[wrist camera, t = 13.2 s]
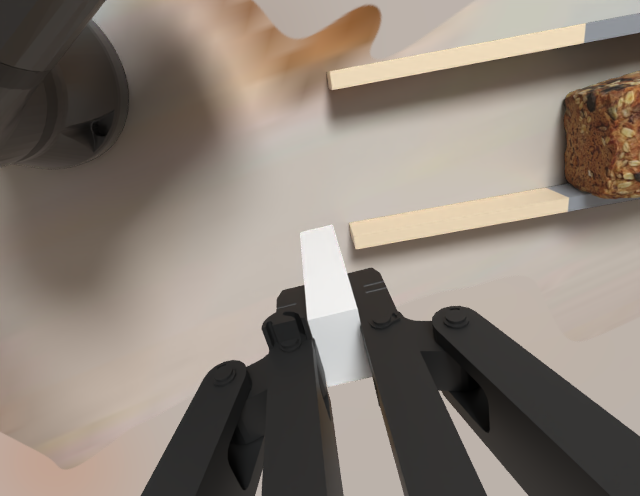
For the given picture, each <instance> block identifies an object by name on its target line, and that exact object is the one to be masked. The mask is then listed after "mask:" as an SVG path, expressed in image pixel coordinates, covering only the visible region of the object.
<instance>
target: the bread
mask: <svg viewBox="0 0 640 496" xmlns="http://www.w3.org/2000/svg"><path fill="white" fill-rule="evenodd" d="M564 106H565V108H566V112H565V115H564V120H563V121H564V128H565V130H566V133H567V135H566V139H567V148H566V151H565V154H564V157H565V175H566V180H567V181H568V182H569V183H570V184H572V185H573V186H574V187H575V188H577V189H579V190H580V191H582V192H584V191H586V192H589V193H591V194H592V195H593V196H596V197H599V198H603V199H618V198H638V197H640V71H637V72H633V73H630V74H626V75H623V76H621V77H619V78H614V79H609V80H606V81H603V82H600V83H597V84H595V85H590V86H588V87H585V88H583V89H578V90H575V91H573V92H570V93H569V94H568V95H567V96H566V99H565V102H564Z"/></svg>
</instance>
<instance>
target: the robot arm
mask: <svg viewBox="0 0 640 496" xmlns="http://www.w3.org/2000/svg"><path fill="white" fill-rule="evenodd" d="M105 1H106V0H0V167H3V166H7V165H9V164H15V165H21V166H28V167H34V168H41V169H61V168H69V167H73V166H76V165H79V164H82V163H85V162H87V161H90V160H92V159H94V158H96V157H98V156H100V155H101V154H103V153H104V152H105V151H107V150H108V149H109V148H110V147H111V146H112V145H113V144H114V143H115V141H116V140H117V138H118V137H119V135H120V133H121V131H122V129H123V127H124V124H125V121H126V118H127V113H128V102H129V99H128V86H127V81H126V77H125V73H124V70H123V67H122V64H121V61H120V59H119V57H118V55H117V53H116V51H115V49H114V47H113V46H112V44H111V43H110V41H109V40H108V38H107V37H106V35H105V34H104V33H103V31H102V30H101V29H100V28H99V27H98V26H97V24H96V23H95V22H94V21H93V20H92V17H93V16H94V15H95V14H96V12H97V11H98V10H99V8H100V7H101V6H102V4H103V3H104V2H105ZM300 239H301V251H302V263H303V274H304V285H303V286H298V287H294V288H290V289H286V290H282V292H281V293H280V295H279V297H278V298H277V311H276V313H274V314H272V315H271V316H269V317H268V318H267V319H266V320H265V321H264V322H263V325H262V331H263V334H264V336H265V339H266V342H267V344H268V347H269V354H268V355H266V356H265V357H264V358H263V359H261V360H259V361H258V362H256V363H254V364H252V365H250V366H247V367H246V366H245V364H244V363H242V362H241V361H236V360H231V361H226V362H223V363H221V364H219V365H217V366H215V367H214V368H213V369H212V370H210V371H209V372H208V374H207V375H206V376H205V378H204V379H203V381H202V383H201V385H200V387H199V388H198V390H197V392H196V394H195V396H194V398H193V400H192V402H191V403H190V405H189V407H188V409H187V411H186V413H185V414H184V416H183V418H182V420H181V422H180V424H179V426H178V427H177V429H176V431H175V433H174V435H173V437H172V439H171V441H170V442H169V444H168V446H167V448H166V450H165V452H164V454H163V455H162V457H161V459H160V461H159V463H158V465H157V467H156V469H155V470H154V472H153V474H152V476H151V478H150V480H149V481H148V483H147V485H146V487H145V489H144V491H143V493H142V494H141V496H255V494H256V490H257V487H258V483H259V479H260V476H261V472H262V469H263V479H262V496H343V488H342V481H341V475H340V467H339V459H338V453H337V445H336V437H335V430H334V423H333V416H332V408H331V401H330V397H329V394H328V391H327V387H326V383H327V386H328V387H331V386H335V385H340V384H343V383H348V382H352V381H356V380H361V379H364V378H369V377H373V381H374V385H375V390H376V394H377V398H378V402H379V406H380V408H381V411H382V415H383V419H384V422H385V426H386V430H387V433H388V437H389V441H390V445H391V448H392V452H393V456H394V459H395V463H396V466H397V470H398V474H399V478H400V481H401V485H402V488H403V492H404V496H487V495H486V493H485V490H484V488H483V486H482V484H481V482H480V479H479V477H478V475H477V473H476V471H475V469H474V467H473V465H472V462H471V460H470V458H469V456H468V454H467V452H466V449H465V447H464V445H463V443H462V441H461V439H460V436H459V434H458V432H457V430H456V428H455V426H454V424H453V421H452V419H451V417H450V415H449V413H448V411H447V409H446V406H445V404H444V402H443V400H442V398H441V396H440V394H439V391H438V390H441V391H442V393H443V395H444V396H445V397H446V399H447V400H448V401H449V402H450V403H451V404H452V406H453V407H454V408H455V409H456V410H457V412H458V413H459V414H460V415H461V416H462V417H463V419H464V420H465V421H466V422H467V423H468V425H469V426H470V427H471V428H472V429H473V430H474V432H475V433H476V434H477V435H478V436H479V438H480V439H481V440H482V441H483V442H484V444H485V445H486V446H487V447H488V448H489V449H490V451H491V452H492V453H493V454H494V455H495V457H496V458H497V459H498V460H499V461H500V462H501V464H502V465H503V466H504V467H505V468H506V470H507V471H508V472H509V473H510V474H511V475H512V476H513V478H514V479H515V480H516V481H517V482H518V484H519V485H520V486H521V487H522V488H523V490H524V491H525V492H526V493H527V494H528V495H529V496H640V436H638V435H637V434H636V433H635V432H633V431H632V430H631V429H629V428H628V427H627V426H625V425H624V424H622V423H621V422H620V421H619V420H617V419H616V418H615V417H613V416H612V415H611V414H609V413H608V412H607V411H606V410H604V409H603V408H602V407H600V406H599V405H598V404H596V403H595V402H594V401H592V400H591V399H590V398H588V397H587V396H586V395H584V394H583V393H582V392H581V391H579V390H578V389H577V388H575V387H574V386H572V385H571V384H570V383H569V382H568V381H566V380H565V379H564V378H562V377H561V376H560V375H558V374H557V373H556V372H554V371H553V370H552V369H550V368H549V367H548V366H546V365H545V364H544V363H542V362H541V361H540V360H538V359H537V358H536V357H535V356H533V355H532V354H531V353H529V352H528V351H527V350H525V349H524V348H523V347H522V346H520V345H519V344H518V343H516V342H515V341H514V340H512V339H511V338H510V337H508V336H507V335H506V334H504V333H503V332H502V331H500V330H499V329H498V328H497V327H495V326H494V325H493V324H491V323H490V322H489V321H487V320H486V319H485V318H483V317H482V316H481V315H479V314H478V313H477V312H475V311H474V310H472V309H470V308H466V307H461V306H450V307H446V308H443V309H441V310H439V311H438V312H436V313H435V315H434V316H433V317H432V321H413V320H410V319H407V318H405V317H403V315H402V314H401V313H400V312H398V311H397V309H396V307H395V305H394V303H393V301H392V298H391V296H390V294H389V292H388V290H387V288H386V285H385V283H384V281H383V279H382V276H381V274H380V273H379V272H378V271H376V270H375V269H373V268H368V269H364V270H360V271H356V272H352V273H348V274H347V271H346V268H345V265H344V261H343V258H342V255H341V251H340V248H339V244H338V241H337V238H336V234H335V231H334V227H333V224H332V225H328V226H324V227H320V228H316V229H312V230H308V231H304V232H300Z"/></svg>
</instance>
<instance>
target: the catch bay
mask: <svg viewBox="0 0 640 496" xmlns="http://www.w3.org/2000/svg"><path fill="white" fill-rule="evenodd" d="M635 33H640V13H638V14H632V15H627V16H622V17H616V18H611V19H606V20H600V21H595V22H590V23H584V24H579V25H574V26H568V27H563V28H558V29H552V30H547V31H542V32H537V33H531V34H526V35H521V36H515V37H510V38H505V39H499V40H494V41H489V42H483V43H478V44H473V45H467V46H462V47H457V48H451V49H446V50H441V51H435V52H430V53H425V54H420V55H414V56H409V57H404V58H398V59H393V60H388V61H382V62H377V63H372V64H366V65H361V66H356V67H350V68H345V69H340V70H334V71H329V72H326V73H327V79H328V86H329V89H331V90H335V89H341V88H346V87H351V86H357V85H362V84H367V83H373V82H378V81H383V80H389V79H394V78H399V77H405V76H410V75H415V74H421V73H426V72H431V71H437V70H442V69H448V68H453V67H458V66H464V65H469V64H474V63H480V62H485V61H490V60H496V59H501V58H506V57H512V56H517V55H522V54H528V53H533V52H538V51H544V50H549V49H554V48H560V47H565V46H571V45H576V44H581V43H587V42H592V41H597V40H603V39H608V38H613V37H619V36H624V35H629V34H635ZM636 199H640V197H638V198H618V199H603V198H599V197H596V196H593V195H592V194H591V193H589V192H586V191H584V192H582V191H580V190H579V189H577V188H575V187H574V186H573V185H572V184H570V183H568V184H563V185H557V186H551V187H546V188H540V189H535V190H529V191H524V192H518V193H512V194H507V195H501V196H496V197H490V198H485V199H479V200H474V201H468V202H462V203H457V204H451V205H446V206H440V207H435V208H429V209H424V210H418V211H412V212H407V213H401V214H396V215H390V216H385V217H379V218H373V219H368V220H362V221H357V222H351V223H349V226H350V233H351V237H352V240H353V243H354V246H355V249H361V248H367V247H373V246H378V245H384V244H389V243H395V242H401V241H406V240H412V239H417V238H423V237H429V236H434V235H440V234H445V233H451V232H457V231H462V230H468V229H473V228H479V227H485V226H490V225H496V224H501V223H507V222H513V221H518V220H524V219H529V218H535V217H541V216H546V215H552V214H558V213H563V212H569V211H574V210H580V209H586V208H591V207H597V206H602V205H608V204H614V203H619V202H625V201H630V200H636Z"/></svg>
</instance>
